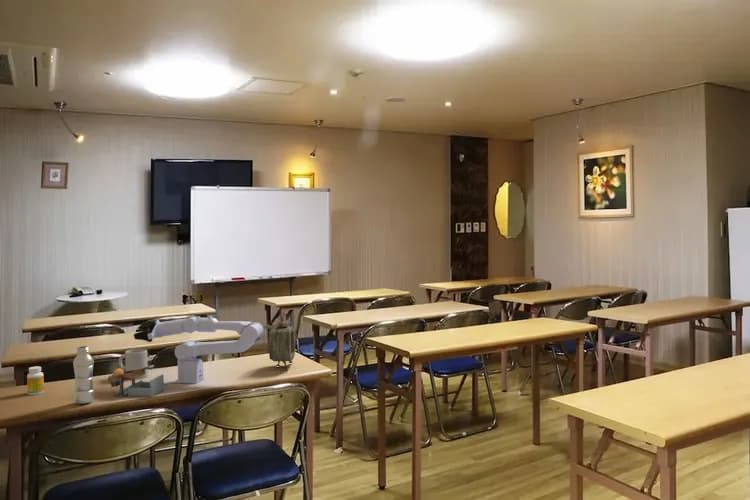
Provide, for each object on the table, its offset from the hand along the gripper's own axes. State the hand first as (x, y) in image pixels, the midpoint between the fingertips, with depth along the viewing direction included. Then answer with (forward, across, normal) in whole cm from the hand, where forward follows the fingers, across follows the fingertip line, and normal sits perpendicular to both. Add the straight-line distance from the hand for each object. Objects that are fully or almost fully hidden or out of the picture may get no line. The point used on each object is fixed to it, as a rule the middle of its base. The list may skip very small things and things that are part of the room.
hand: (138, 333), depth 233 cm
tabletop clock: (-49, -18, +32) cm, 61 cm away
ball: (+1, +19, +9) cm, 21 cm away
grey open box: (-8, +21, +17) cm, 29 cm away
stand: (-1, +21, +16) cm, 26 cm away
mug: (+9, -2, +19) cm, 21 cm away
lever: (-2, +17, +13) cm, 22 cm away
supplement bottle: (+34, +22, +10) cm, 42 cm away
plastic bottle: (+8, +34, +12) cm, 37 cm away
